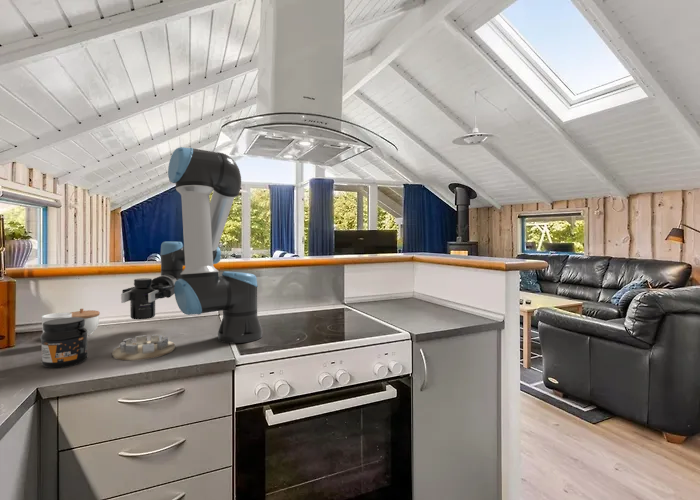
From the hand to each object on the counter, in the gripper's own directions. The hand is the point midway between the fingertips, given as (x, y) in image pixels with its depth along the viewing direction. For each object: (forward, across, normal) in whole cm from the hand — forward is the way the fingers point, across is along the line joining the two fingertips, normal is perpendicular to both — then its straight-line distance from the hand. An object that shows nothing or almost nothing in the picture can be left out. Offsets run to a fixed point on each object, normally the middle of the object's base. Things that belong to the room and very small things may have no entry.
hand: (136, 298), depth 112 cm
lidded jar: (-28, +29, -18) cm, 44 cm away
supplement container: (+4, +18, -18) cm, 25 cm away
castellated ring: (-4, -1, -18) cm, 18 cm away
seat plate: (-4, -1, -18) cm, 18 cm away
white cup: (-14, +30, -18) cm, 38 cm away
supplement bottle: (-5, 0, -7) cm, 9 cm away
